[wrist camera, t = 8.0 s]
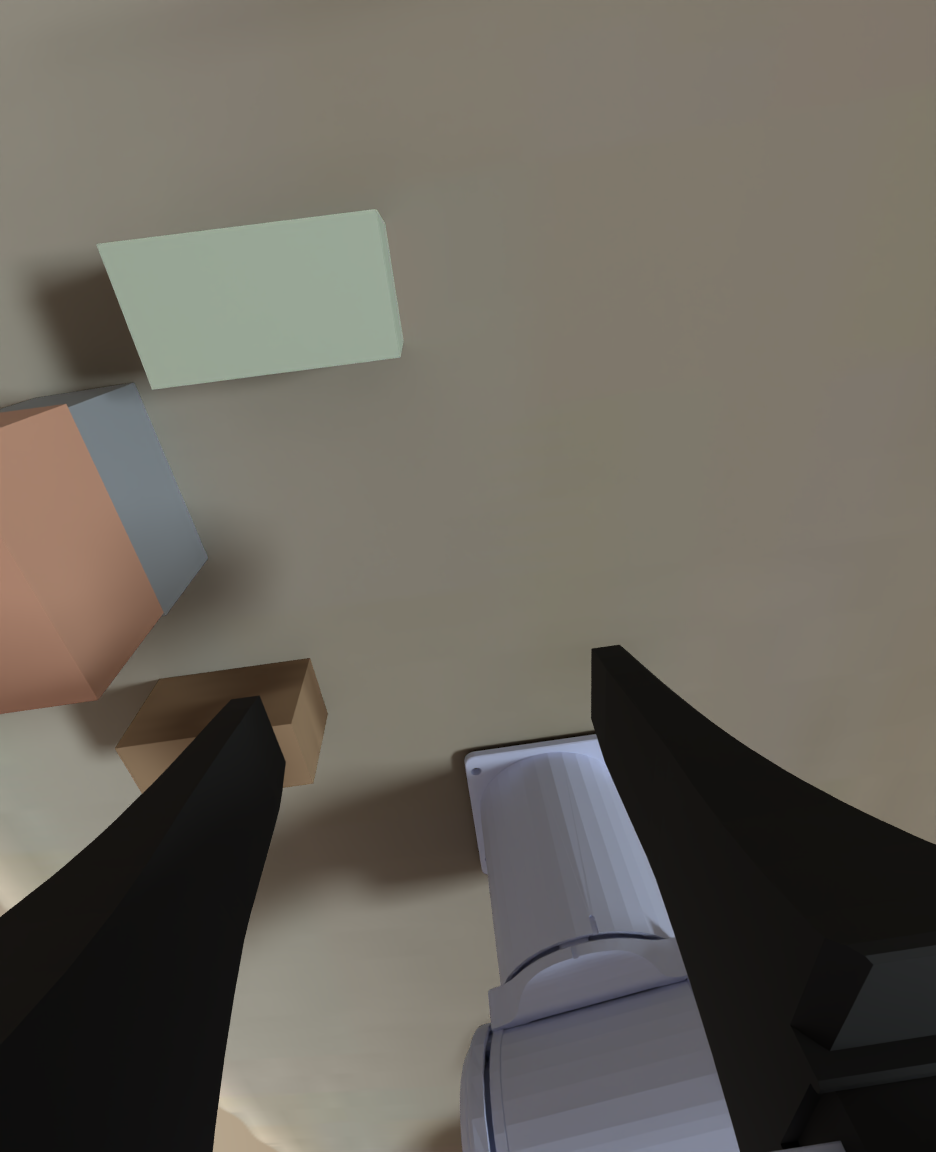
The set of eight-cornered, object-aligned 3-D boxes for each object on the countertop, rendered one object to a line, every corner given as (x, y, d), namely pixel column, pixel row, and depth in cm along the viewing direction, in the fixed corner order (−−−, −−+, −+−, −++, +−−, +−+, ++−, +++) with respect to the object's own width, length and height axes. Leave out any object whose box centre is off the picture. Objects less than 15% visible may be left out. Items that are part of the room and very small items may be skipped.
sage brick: (385, 223, 16) (376, 209, 12) (403, 341, 17) (400, 357, 14) (167, 251, 16) (95, 244, 12) (205, 366, 17) (152, 389, 14)
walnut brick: (310, 656, 23) (291, 723, 20) (327, 711, 25) (313, 783, 21) (160, 677, 23) (114, 748, 20) (187, 731, 25) (150, 806, 21)
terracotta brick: (163, 612, 17) (98, 699, 13) (61, 627, 17) (-32, 718, 13) (66, 404, 14) (-53, 447, 10) (-61, 420, 14) (-223, 469, 10)
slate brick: (208, 557, 20) (165, 615, 17) (124, 570, 20) (64, 631, 17) (135, 382, 17) (63, 409, 14) (35, 397, 17) (-61, 428, 14)
